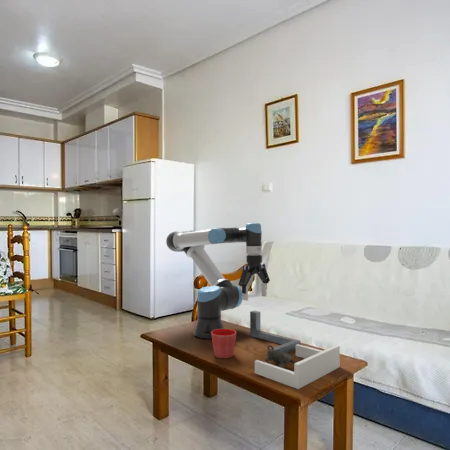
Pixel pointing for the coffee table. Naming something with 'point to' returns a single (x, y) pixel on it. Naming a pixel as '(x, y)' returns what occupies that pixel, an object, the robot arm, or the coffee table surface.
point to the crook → (271, 335)
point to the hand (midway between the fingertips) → (254, 298)
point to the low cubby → (302, 366)
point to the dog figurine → (278, 357)
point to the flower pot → (223, 342)
